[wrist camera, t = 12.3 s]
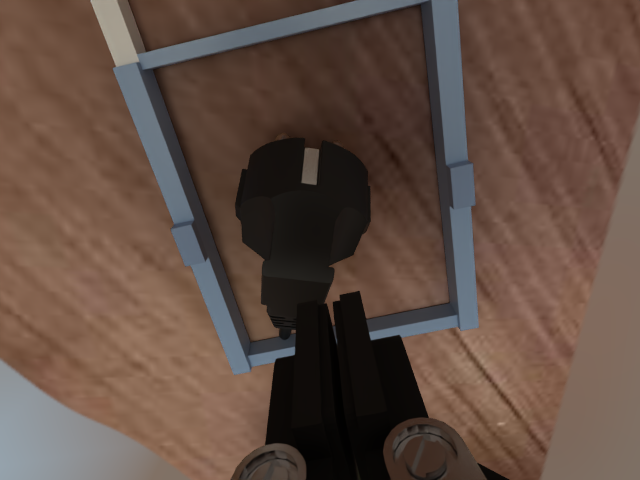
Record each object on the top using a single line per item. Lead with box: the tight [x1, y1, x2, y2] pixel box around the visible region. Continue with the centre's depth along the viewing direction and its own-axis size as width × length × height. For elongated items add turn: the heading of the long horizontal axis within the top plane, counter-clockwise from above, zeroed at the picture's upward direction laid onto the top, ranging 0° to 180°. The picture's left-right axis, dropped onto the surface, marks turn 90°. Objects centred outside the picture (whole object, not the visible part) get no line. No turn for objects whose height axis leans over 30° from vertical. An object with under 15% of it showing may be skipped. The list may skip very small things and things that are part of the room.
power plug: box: [235, 133, 371, 340], centre depth 20 cm, size 6×8×12 cm
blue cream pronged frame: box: [90, 0, 479, 375], centre depth 17 cm, size 31×14×2 cm, turn 12°
